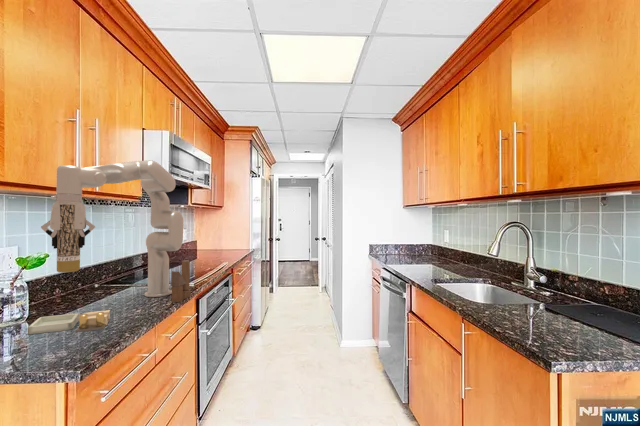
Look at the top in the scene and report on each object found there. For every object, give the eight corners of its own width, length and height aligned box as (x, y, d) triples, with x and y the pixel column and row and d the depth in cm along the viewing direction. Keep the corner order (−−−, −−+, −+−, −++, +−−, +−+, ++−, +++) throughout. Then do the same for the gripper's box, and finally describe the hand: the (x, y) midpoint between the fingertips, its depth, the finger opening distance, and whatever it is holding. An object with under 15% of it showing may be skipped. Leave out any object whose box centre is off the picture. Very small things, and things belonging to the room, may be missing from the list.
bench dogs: (78, 328, 116) (78, 314, 116) (105, 325, 119) (105, 311, 119) (75, 332, 112) (75, 318, 112) (103, 329, 115) (103, 314, 115)
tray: (39, 324, 120) (39, 317, 120) (79, 319, 126) (79, 313, 126) (27, 334, 110) (27, 327, 110) (71, 329, 115) (71, 322, 115)
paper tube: (60, 270, 122) (61, 203, 122) (82, 269, 124) (83, 203, 125) (53, 273, 116) (54, 202, 116) (76, 272, 118) (77, 203, 118)
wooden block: (171, 302, 151) (171, 263, 151) (184, 296, 162) (184, 259, 162) (178, 302, 151) (179, 263, 151) (191, 296, 161) (191, 260, 161)
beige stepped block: (85, 321, 124) (85, 312, 124) (109, 319, 128) (109, 310, 128) (79, 329, 116) (79, 319, 116) (106, 326, 120) (106, 316, 120)
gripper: (35, 198, 113) (34, 249, 113) (96, 199, 121) (95, 248, 121) (42, 199, 120) (41, 248, 120) (99, 200, 128) (98, 246, 127)
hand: (68, 247), depth 120 cm, fingers closed on paper tube, 6 cm apart
